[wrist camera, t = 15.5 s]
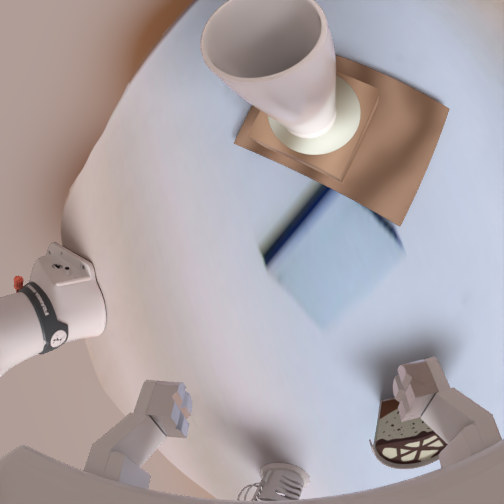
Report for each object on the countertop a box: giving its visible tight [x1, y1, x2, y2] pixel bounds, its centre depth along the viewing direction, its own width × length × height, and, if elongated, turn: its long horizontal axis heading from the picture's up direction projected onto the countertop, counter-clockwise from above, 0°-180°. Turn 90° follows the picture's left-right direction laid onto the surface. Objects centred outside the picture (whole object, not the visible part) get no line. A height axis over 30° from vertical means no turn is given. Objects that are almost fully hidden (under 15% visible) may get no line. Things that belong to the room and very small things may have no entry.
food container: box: [369, 397, 448, 469], centre depth 28 cm, size 12×6×10 cm, turn 109°
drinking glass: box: [201, 0, 337, 139], centre depth 18 cm, size 7×7×15 cm
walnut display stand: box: [234, 55, 449, 226], centre depth 27 cm, size 22×16×8 cm
